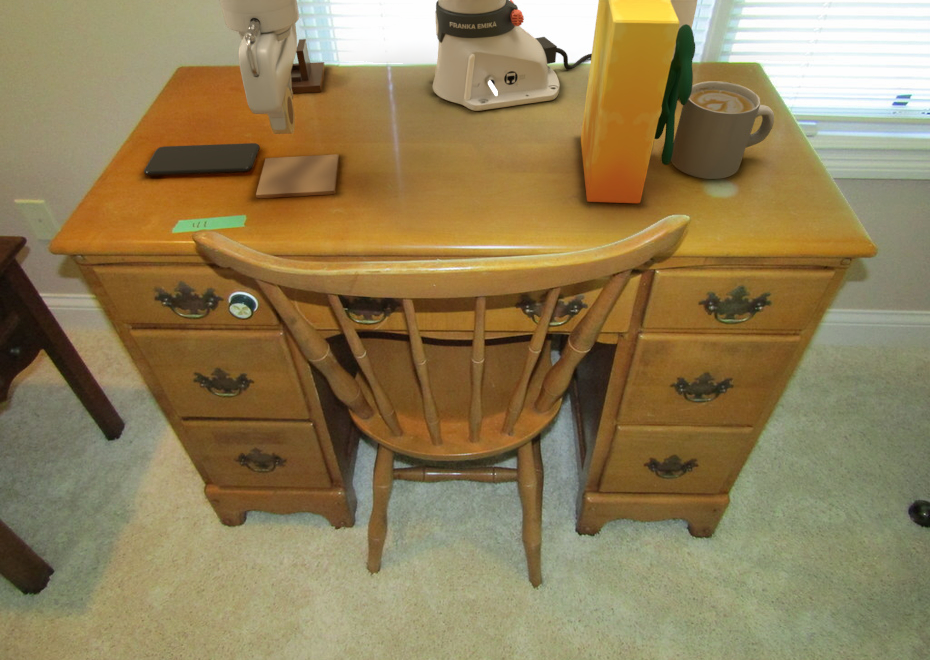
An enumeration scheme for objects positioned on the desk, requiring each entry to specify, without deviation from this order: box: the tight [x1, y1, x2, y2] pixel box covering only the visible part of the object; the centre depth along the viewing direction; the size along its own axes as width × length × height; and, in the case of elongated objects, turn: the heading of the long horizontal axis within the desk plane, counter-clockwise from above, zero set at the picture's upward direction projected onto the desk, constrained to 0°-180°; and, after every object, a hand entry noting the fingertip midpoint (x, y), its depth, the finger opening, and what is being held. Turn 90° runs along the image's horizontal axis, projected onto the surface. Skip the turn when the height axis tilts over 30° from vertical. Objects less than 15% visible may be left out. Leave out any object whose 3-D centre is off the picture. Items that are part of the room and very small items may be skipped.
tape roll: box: [268, 87, 296, 135], centre depth 85 cm, size 2×6×6 cm, turn 5°
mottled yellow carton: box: [580, 0, 696, 204], centre depth 85 cm, size 18×12×24 cm
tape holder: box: [291, 38, 326, 94], centre depth 113 cm, size 10×10×6 cm
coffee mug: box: [670, 80, 775, 180], centre depth 91 cm, size 13×10×10 cm
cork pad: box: [255, 153, 340, 199], centre depth 93 cm, size 11×10×1 cm
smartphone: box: [143, 142, 261, 177], centre depth 96 cm, size 8×1×16 cm
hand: (283, 114), depth 86 cm, fingers closed on tape roll, 6 cm apart
